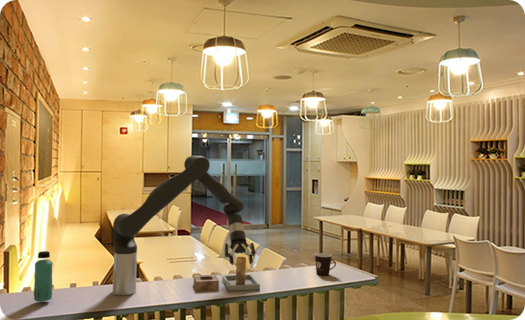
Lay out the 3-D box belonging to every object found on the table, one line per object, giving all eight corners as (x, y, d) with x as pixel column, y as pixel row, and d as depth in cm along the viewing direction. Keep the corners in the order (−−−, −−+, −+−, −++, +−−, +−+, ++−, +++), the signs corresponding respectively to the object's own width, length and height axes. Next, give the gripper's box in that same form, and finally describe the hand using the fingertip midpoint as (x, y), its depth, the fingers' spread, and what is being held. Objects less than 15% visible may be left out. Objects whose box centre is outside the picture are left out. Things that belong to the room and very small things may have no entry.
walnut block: (196, 290, 187) (196, 281, 187) (193, 284, 197) (193, 275, 197) (218, 289, 190) (218, 280, 190) (215, 283, 200) (215, 274, 200)
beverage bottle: (55, 300, 170) (56, 250, 170) (47, 306, 163) (48, 253, 163) (38, 299, 170) (39, 249, 170) (29, 305, 163) (31, 253, 163)
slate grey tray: (229, 291, 188) (229, 285, 188) (222, 280, 204) (222, 275, 204) (259, 290, 191) (260, 284, 191) (250, 279, 208) (250, 274, 208)
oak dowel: (236, 285, 195) (237, 259, 195) (234, 282, 199) (235, 256, 199) (246, 285, 196) (247, 258, 196) (244, 282, 200) (244, 256, 200)
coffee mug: (311, 272, 224) (312, 253, 224) (326, 271, 226) (327, 252, 226) (321, 278, 213) (321, 258, 213) (336, 277, 215) (337, 257, 215)
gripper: (223, 230, 203) (227, 259, 192) (253, 229, 207) (258, 258, 196) (221, 239, 208) (225, 268, 197) (250, 238, 212) (255, 267, 201)
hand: (241, 263), depth 196 cm, fingers open, 8 cm apart
